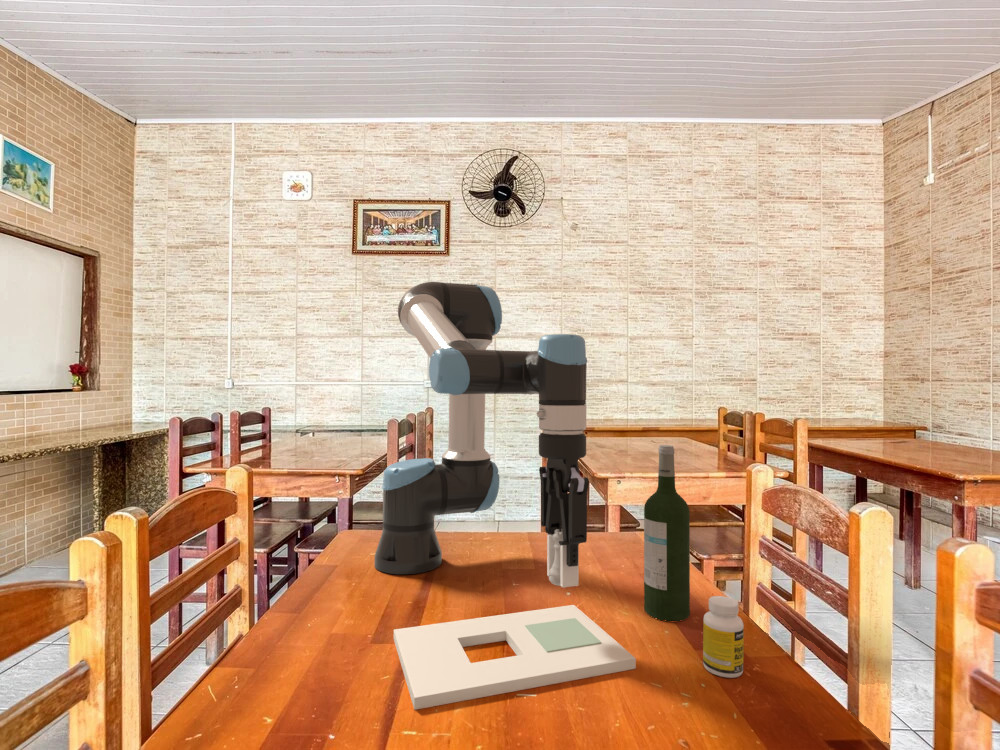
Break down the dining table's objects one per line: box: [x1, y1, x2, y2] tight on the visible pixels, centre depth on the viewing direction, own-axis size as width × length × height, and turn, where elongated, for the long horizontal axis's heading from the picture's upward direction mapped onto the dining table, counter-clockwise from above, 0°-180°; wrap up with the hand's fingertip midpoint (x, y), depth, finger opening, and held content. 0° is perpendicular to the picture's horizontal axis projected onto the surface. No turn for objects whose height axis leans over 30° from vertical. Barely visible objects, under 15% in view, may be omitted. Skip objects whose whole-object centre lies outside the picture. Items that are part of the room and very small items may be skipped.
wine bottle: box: [643, 444, 691, 622], centre depth 98 cm, size 8×8×30 cm
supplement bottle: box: [702, 595, 745, 679], centre depth 78 cm, size 5×5×10 cm
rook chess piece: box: [548, 529, 563, 587], centre depth 86 cm, size 4×4×8 cm
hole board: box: [393, 604, 637, 711], centre depth 83 cm, size 20×32×2 cm, turn 108°
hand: (562, 579), depth 86 cm, fingers closed on rook chess piece, 4 cm apart
